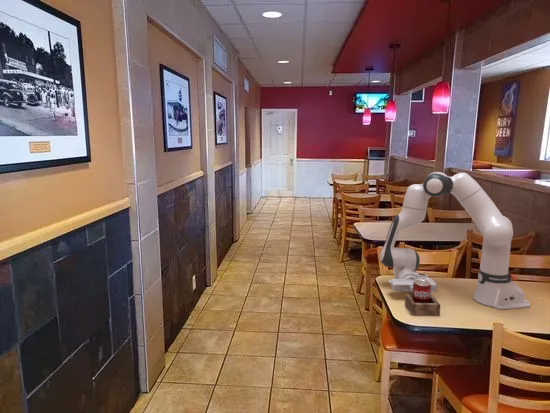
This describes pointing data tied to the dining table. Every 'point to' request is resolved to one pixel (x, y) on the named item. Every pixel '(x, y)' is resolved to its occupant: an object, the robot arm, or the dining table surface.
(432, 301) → the brown wooden u-shaped frame
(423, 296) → the soda can
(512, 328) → the dining table surface
